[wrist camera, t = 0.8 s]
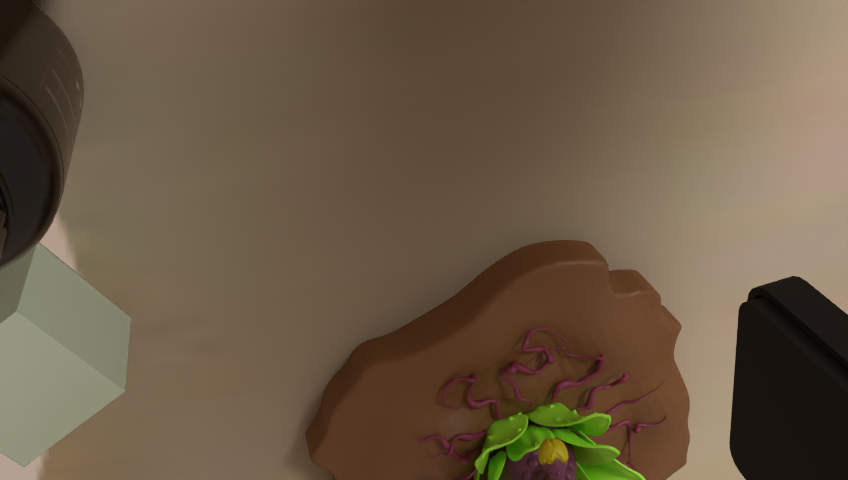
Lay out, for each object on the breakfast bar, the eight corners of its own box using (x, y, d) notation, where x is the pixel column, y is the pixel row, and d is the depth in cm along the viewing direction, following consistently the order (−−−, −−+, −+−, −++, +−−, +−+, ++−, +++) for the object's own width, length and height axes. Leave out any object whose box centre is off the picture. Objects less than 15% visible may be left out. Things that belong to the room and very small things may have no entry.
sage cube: (38, 241, 32) (16, 311, 27) (131, 316, 34) (125, 391, 30) (-57, 315, 32) (-93, 395, 28) (42, 384, 35) (24, 467, 30)
